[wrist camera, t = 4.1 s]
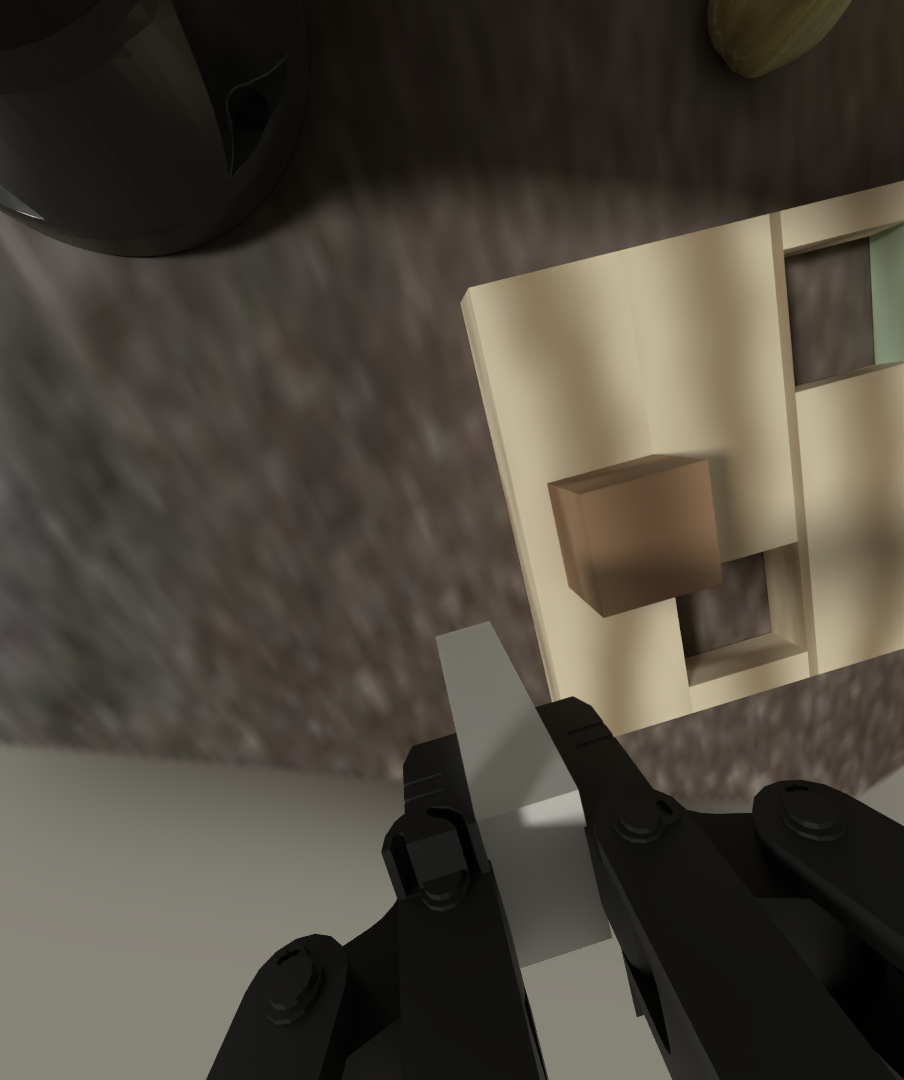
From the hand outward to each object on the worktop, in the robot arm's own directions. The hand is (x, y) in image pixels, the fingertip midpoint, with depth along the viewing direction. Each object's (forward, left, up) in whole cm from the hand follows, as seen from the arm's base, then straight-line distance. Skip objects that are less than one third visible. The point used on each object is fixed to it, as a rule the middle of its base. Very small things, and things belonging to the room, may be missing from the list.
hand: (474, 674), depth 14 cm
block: (+8, 0, -9) cm, 12 cm away
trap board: (+18, 0, -12) cm, 22 cm away
